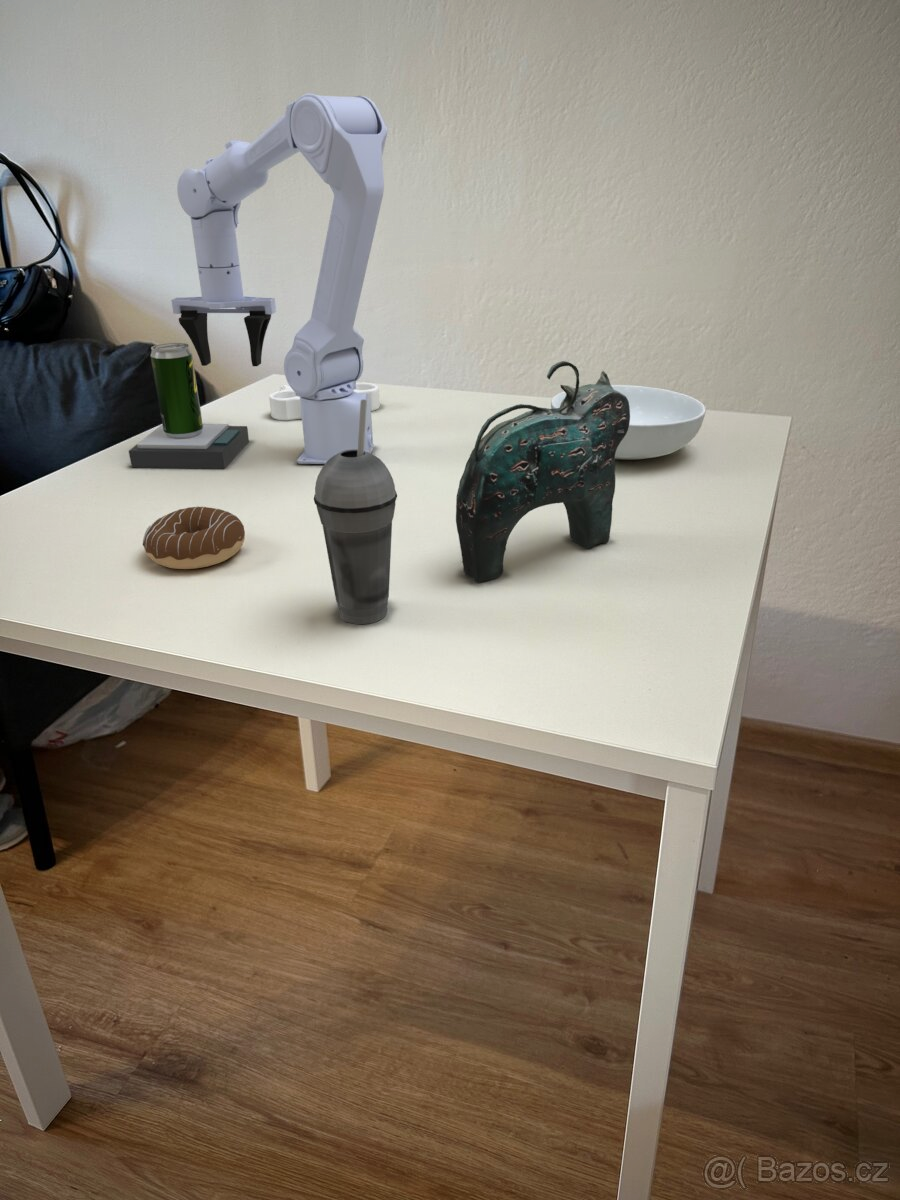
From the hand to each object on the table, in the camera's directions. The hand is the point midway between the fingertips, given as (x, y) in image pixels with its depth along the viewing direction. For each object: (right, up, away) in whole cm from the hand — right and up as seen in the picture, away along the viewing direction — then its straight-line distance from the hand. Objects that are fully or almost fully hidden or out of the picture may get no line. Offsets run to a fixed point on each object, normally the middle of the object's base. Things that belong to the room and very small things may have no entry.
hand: (231, 364), depth 126 cm
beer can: (-5, -11, -5) cm, 13 cm away
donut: (+5, -30, -33) cm, 45 cm away
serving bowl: (+56, -14, -4) cm, 58 cm away
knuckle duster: (+11, -3, +17) cm, 20 cm away
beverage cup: (+24, -36, -45) cm, 63 cm away
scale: (-5, -14, -4) cm, 15 cm away
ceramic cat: (+42, -30, -35) cm, 62 cm away
